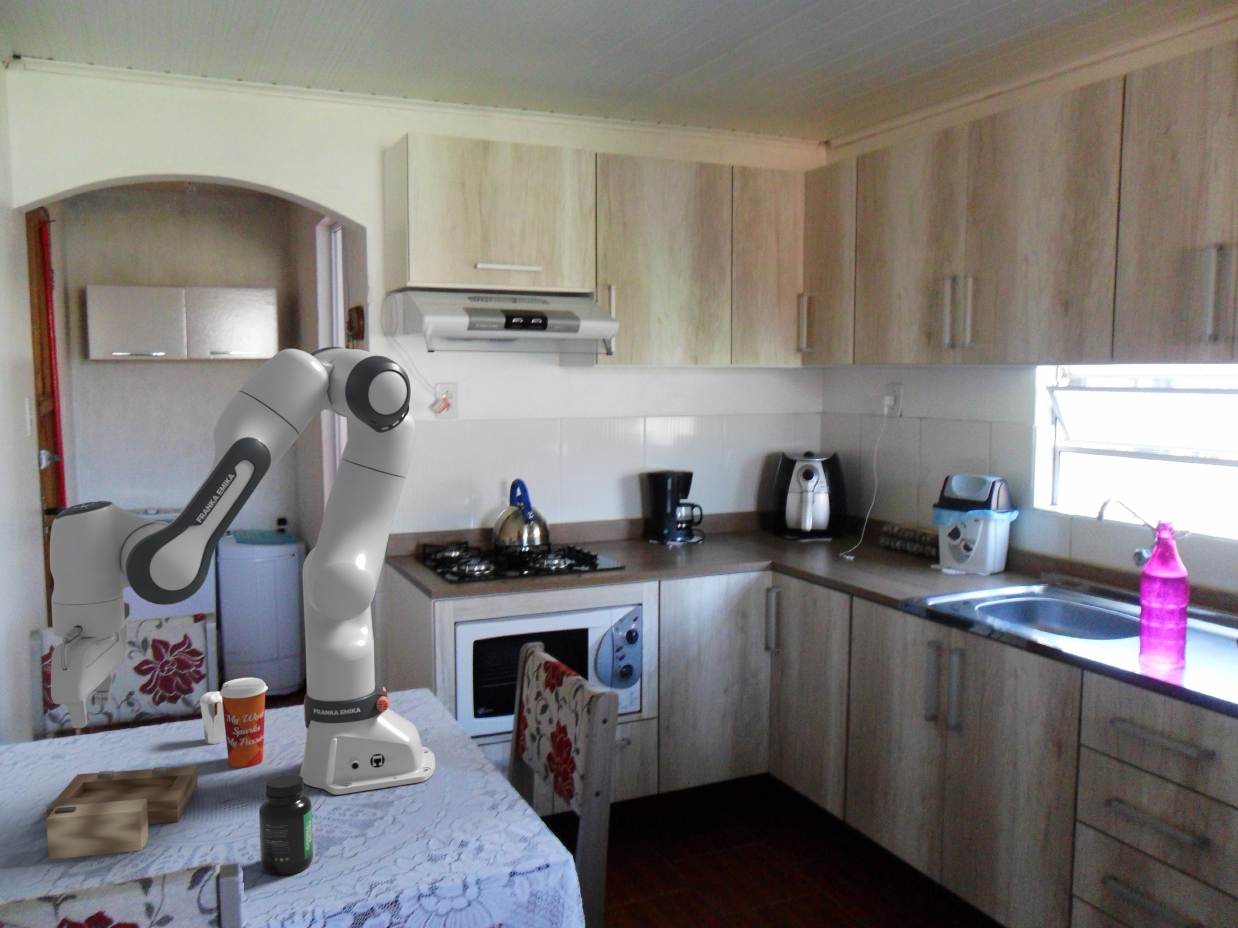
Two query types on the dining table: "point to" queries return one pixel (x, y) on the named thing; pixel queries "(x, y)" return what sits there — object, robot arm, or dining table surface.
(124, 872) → the dining table surface
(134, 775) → the frame
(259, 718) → the paper cup
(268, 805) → the supplement bottle
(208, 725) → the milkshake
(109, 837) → the door
